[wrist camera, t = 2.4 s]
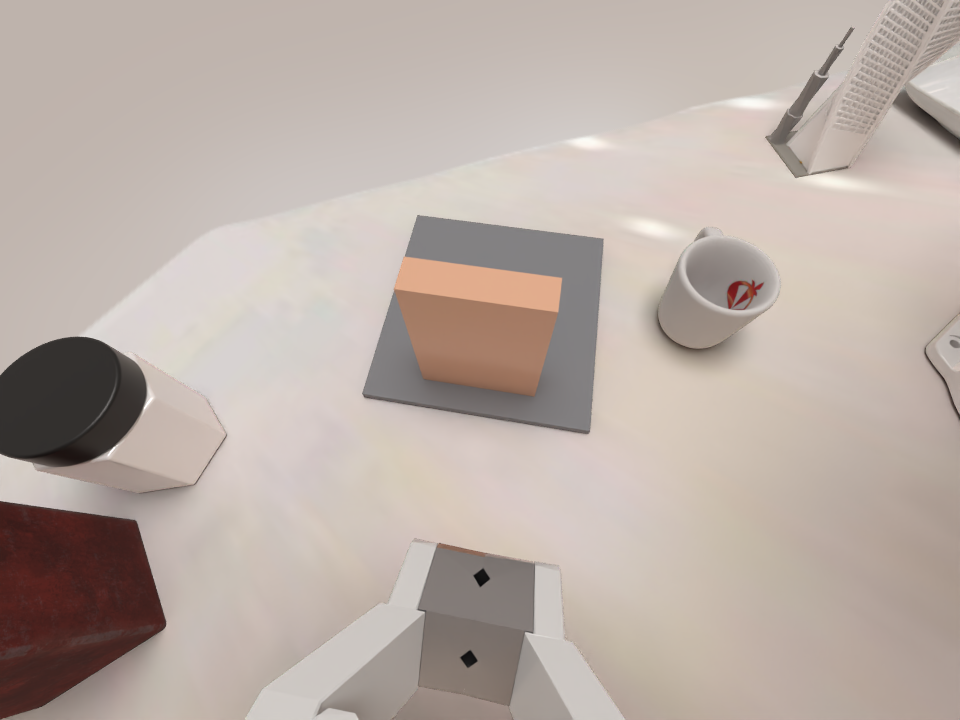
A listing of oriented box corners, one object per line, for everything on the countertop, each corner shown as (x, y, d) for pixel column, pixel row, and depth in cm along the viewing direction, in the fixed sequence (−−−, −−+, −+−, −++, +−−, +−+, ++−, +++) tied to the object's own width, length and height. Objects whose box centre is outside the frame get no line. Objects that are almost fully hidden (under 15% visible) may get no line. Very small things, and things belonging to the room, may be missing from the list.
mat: (601, 243, 47) (603, 238, 46) (587, 433, 38) (589, 431, 37) (418, 220, 48) (417, 215, 48) (364, 396, 40) (362, 393, 39)
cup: (644, 262, 46) (673, 205, 38) (722, 269, 45) (768, 212, 38) (648, 355, 41) (683, 309, 34) (736, 364, 41) (791, 319, 33)
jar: (169, 382, 40) (53, 314, 30) (243, 413, 39) (150, 353, 28) (100, 474, 37) (-60, 435, 26) (179, 512, 36) (45, 486, 25)
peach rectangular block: (538, 369, 40) (562, 275, 27) (534, 396, 39) (558, 312, 26) (429, 352, 41) (404, 254, 28) (423, 379, 39) (393, 289, 27)
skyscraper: (826, 128, 55) (1120, -253, 29) (865, 174, 51) (1236, -213, 26) (764, 139, 54) (1010, -242, 29) (799, 186, 50) (1114, -199, 25)
